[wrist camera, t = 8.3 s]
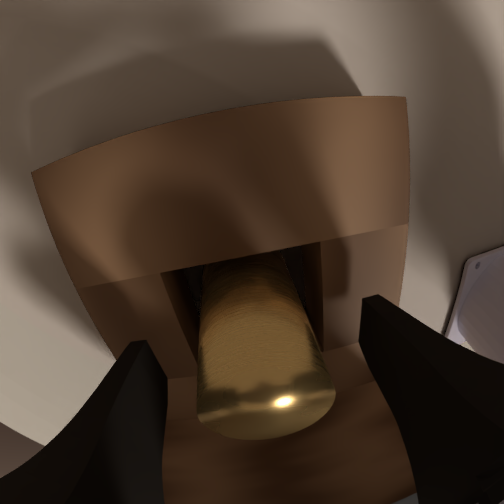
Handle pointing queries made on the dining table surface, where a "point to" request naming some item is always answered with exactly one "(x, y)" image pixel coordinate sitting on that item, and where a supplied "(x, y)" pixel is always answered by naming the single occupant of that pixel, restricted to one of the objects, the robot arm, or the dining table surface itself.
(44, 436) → the dining table surface
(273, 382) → the peg
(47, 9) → the dining table surface
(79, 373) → the dining table surface
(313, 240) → the socket block
